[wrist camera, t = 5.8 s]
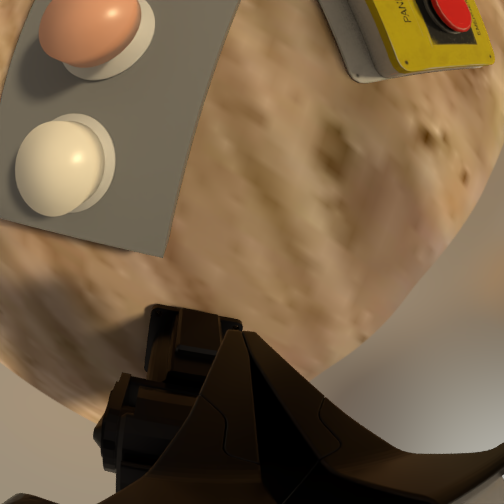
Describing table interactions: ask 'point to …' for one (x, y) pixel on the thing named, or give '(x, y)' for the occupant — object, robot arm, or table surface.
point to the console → (119, 119)
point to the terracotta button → (88, 30)
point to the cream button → (59, 167)
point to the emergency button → (407, 36)
